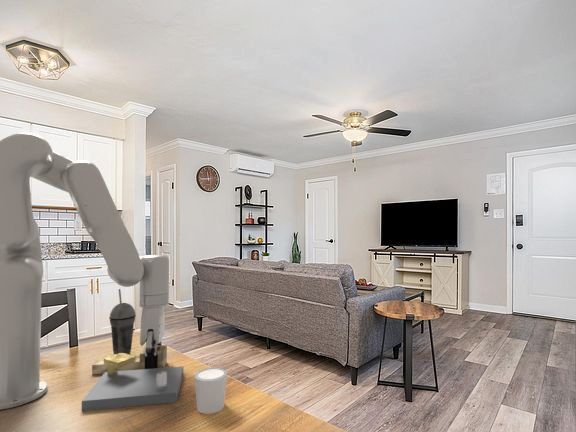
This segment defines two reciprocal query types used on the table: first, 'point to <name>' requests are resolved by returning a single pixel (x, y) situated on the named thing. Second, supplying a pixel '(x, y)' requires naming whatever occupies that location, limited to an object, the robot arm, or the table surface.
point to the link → (137, 365)
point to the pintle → (161, 381)
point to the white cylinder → (210, 389)
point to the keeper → (117, 362)
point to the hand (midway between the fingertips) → (153, 365)
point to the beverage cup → (122, 327)
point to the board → (133, 389)
